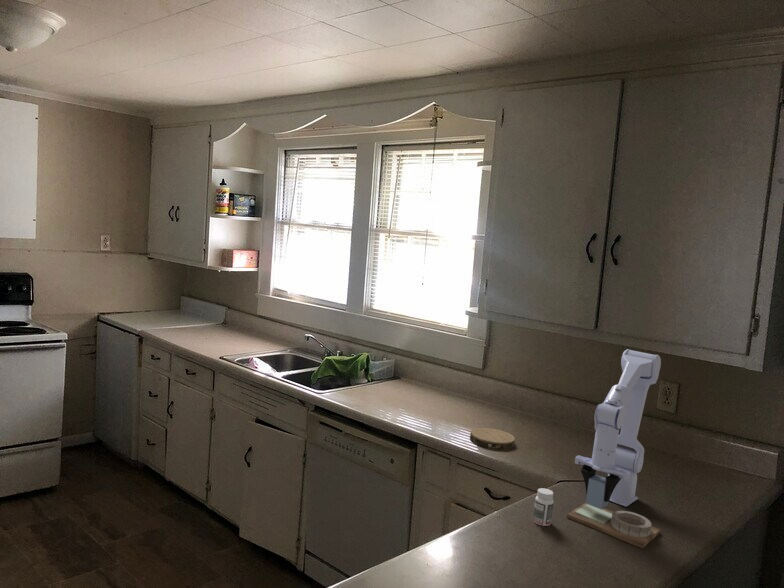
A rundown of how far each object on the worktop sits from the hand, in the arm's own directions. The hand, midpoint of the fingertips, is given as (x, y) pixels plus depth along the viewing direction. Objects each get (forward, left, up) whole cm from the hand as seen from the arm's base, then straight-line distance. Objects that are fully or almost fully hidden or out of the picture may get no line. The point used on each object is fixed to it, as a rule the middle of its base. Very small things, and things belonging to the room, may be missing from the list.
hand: (597, 497), depth 163 cm
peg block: (0, 0, -2) cm, 2 cm away
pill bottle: (+15, -8, -6) cm, 18 cm away
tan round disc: (-29, -51, -6) cm, 59 cm away
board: (0, +5, -6) cm, 8 cm away
